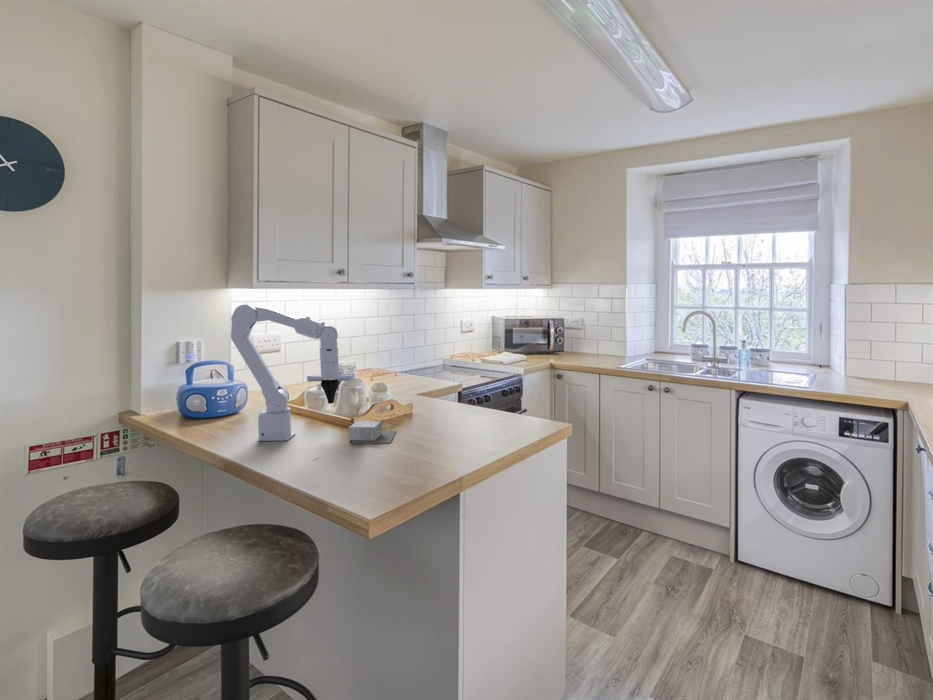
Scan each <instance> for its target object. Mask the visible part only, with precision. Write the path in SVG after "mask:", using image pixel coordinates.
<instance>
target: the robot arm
mask: <svg viewBox="0 0 933 700" xmlns="http://www.w3.org/2000/svg"><path fill="white" fill-rule="evenodd" d="M230 320H231V329H230V339H231V341H232V342H233V344H234V346H235V347H236V349H237V350H238V352H239V353H240V356H241V357H242V359H243V360H244V362H245V364H246V365H247V367H248V369H249V370H250V372H251V374H252V375H253V377H254V379H255V380H256V382H257V383H258V385H259V387H260V389H261V392H262V393H261V394H262V396H263V397H264V399H265V407H266V410H261V411H260V412H259V414H258V418H257V425H258V426H257V427H258V430H257V431H258V439H257V441H259V442H267V441H268V442H269V441H270V442H271V441H289V440H290V439H291V438H293V437H294V436H295V435H296V432H292V421H291V408H290V407H289V406H288V402H289V400H290V395H289V392H288V391H287V390H286V388H284V387H282V386H281V384H280V383H279V381H277V380H276V379H275V377H274V375H273V374H272V372H271V371H270V369H269V367H268V366H267V364H266V362H265V360H264V359H263V357H262V356H261V354H260V352H259V350H258V349H257V347H256V346H255V344H254V342H253V340H252V339H251V337H250V336H251V333H252V330H253V327H254V326H255V325H256V323H259V322H265V321H266V322H267V321H270V322H272V323H277V324H280V325H283V326H286V327H290V328H293V329H294V330H295V332H296V334H298V335H301V336H305V337H308V338H310V339H313V340H319V341H320V347H319V358H320V359H319V360H320V362H319V364H320V374H308V375H306V382H307V383H310V382H311V383H312V382H320V386H321V388H322V390H323V392H324V394H325V397H326V400H327V403H328V404H330V405H332V404H333V403H334V402H335V397H336V393H337V390H338V387H339V384H340V383H341V382H352V381H354V375H353V374H342V373H340V370H339V367H340V366H339V365H340V364H339V347H338V338H339V334H338V330H337V328H336V327H335V326H333V325H332V324H326V322H325V321H322V322H320V321H317V320H315V319H312V318H311V316H309V315H306V316H300V317H297V318H296V317H293V316H290V315H287V314H286V313H282V312H280V311H277V310H275V309H271V308H268V307H264V306H259V305H254V304H251V303H249V304H248V303H247V304H240V305H238V306H237V307H236V308H235V309H234V311H233V312H232V315H231V318H230Z"/></svg>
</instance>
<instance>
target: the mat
mask: <svg viewBox="0 0 933 700" xmlns="http://www.w3.org/2000/svg"><path fill="white" fill-rule="evenodd" d="M396 433H397V430H382V435H381V436H380V437H378V438H377V439H376V440H375V441H358V440H352V442H351V445H368V444H370V445H373V444H374V445H378V444H379V445H383V444H384V445H385V444H387V445H389V444H392V442H393V440H394V438H395V436H396Z"/></svg>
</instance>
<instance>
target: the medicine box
mask: <svg viewBox="0 0 933 700" xmlns="http://www.w3.org/2000/svg"><path fill="white" fill-rule="evenodd" d="M382 431H383V423H382V421H373V420H371V421H370V420H356V421H355V422H354V423H353V424H351V425H350V426H348V440H349V441H354V440H358V441H375V440H376V439H377V438H378V437H380V436H381V435H382Z"/></svg>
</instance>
